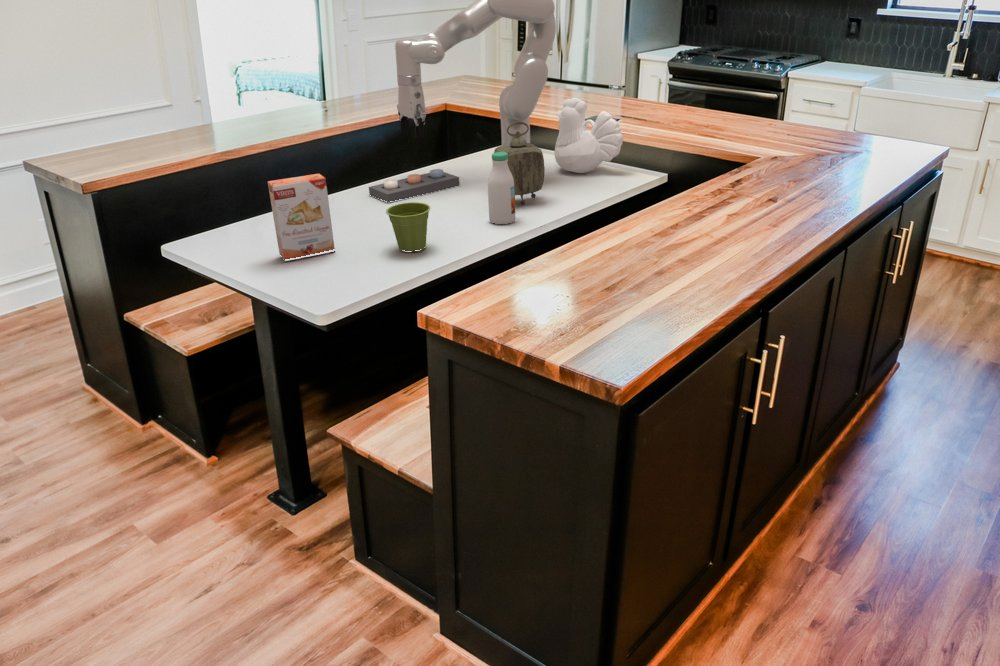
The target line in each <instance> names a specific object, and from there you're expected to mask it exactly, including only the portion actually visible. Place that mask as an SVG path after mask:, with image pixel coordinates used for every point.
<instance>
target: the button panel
mask: <svg viewBox="0 0 1000 666" xmlns="http://www.w3.org/2000/svg"><path fill="white" fill-rule="evenodd" d="M420 175H421V183H418V184H414V185H411V184H408V179H407V177H406V178H401V179H398V180H397V179H396V180H397V183H398V188H397V189H393V190H386V189H384V182H383V183H379V184H374V185H372V186H368V194H369V196H370V195H371V196H374V197H376V198H379V199H382V200H385V201H387V202H390V201H395V200H399V199H404V200H406V199H405V198H408V199H410V198H409V197H412V198H414V197H413V196H416V197H418V196H417V195H420V196H423V195H422V194H424V195H427V194H426V193H428V194H432V193H436V192H440V191H443V189H444V190H447V189H446V188H449V189H452V188H451V187H453V188H456V187H455V186H457V187H460V186H461V185H460V176H457V175H454V174H451V173H448V172H446V171H445V172H444V171H443V178H439V179H432V178H430V172H427V173H422V174H420ZM459 185H460V186H459ZM439 190H440V191H439ZM435 191H436V192H435ZM431 192H432V193H431ZM371 196H370V197H371ZM374 197H373V198H374ZM376 198H375V199H376ZM379 199H378V200H379Z"/></svg>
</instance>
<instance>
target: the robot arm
mask: <svg viewBox="0 0 1000 666" xmlns="http://www.w3.org/2000/svg"><path fill="white" fill-rule="evenodd" d="M555 8H556V7H555V3H554V1H553V0H475V1H473V2H472V3H471V4H469V5H468V6H467V7H465V8H464V9H462V10H460V12H458V13H456V14H455V15H454V16H453V17H451V18H450V19H448V20H446V22H443V23H442V24H441V25H440V26H438V27H437V28H435V29H434V30H432V31H431V32H430V33H428V34H427V35H426V36H424V37H423V38H422V40H418V39H415V38H402V39H397V40H396V41H395V45H394V47H395V48H394V49H395V62H396V75H397V76H396V77H397V87H398V88H397V89H398V94H397V95H398V97H397V99H398V104H397V105H396V109H397V113H398V116H399V118H398V119H399V123H400V124H399V125H400V126H399V127H400V133H401V134H407V133H410V132H411V127H410V126H411V123H410V119H412V120H413V121H414V124H415V125H414V137H415V139H422V138H425V136H426V135H425V134H426V133H425V124H426V116H427V112H426V104H425V96H424V95H425V93H424V91H423V86H422V71H421V68H422V67H421V64H424V65H426V64H427V65H437V64H439V63H441V62H442V61H443V60H444V58H445V54H446V52H447V51H450V50H451V49H452V48H454V46H456V45H458V44H460V43H461V42H463V41H466V40H470V39H472V38H475V37H476V36H478V35H480V34H481V33H482V32H484V31H486V29H488V28H489V27H491V26H492V25H493V24H494V23H496V22H498V21H499V20H501V19H502V18H505V19H510V20H515V21H521V22H527V23H528V31H527V36H526V39H525V40H524V43H523V45H522V46H523V47H522V49H521V50H520V52H519V55H518V57H517V59H516V61H515V64H514V69H513V70H514V75H515V78H514V81H513V82H512V84H509V85H507V86H505V88H503V89H502V91H501V93H500V95H499V100H498V101H499V102H498V103H499V104H498V105H499V106H498V107H499V116H500V130H501V132H500V133H501V146H502V145H506V144H510V142H511V140H512V139H513V138H515V137H516V136H510V135H509V134H508V133H507V128H508V126H509V125H510V124H512V123H514V122H524V123H526V124H527V125H528V127H529V130H528V132H527V133H526V134H524V135H522V136H520V137H522V138H524V139H525V140H526V143H530V144H531V124H530V123H531V122H530V116H531V115H532V114H533V112H534V110H535V108H536V106H537V103H538V101H539V100H540V97H541V94H542V93H543V91H544V88H545V85H546V83H547V81H548V77H549V69H548V65H547V63H546V62H547V60H548V57H549V56H550V52H551V50H552V47H553V45H554V44H553V43H555V42H554V41H555V38H556V33H557V32H556V31H557V25H556V17H555ZM517 131H519V132H520V134H521V133H524V132H526V131H527V127H526V126H525V125H523V124H516V125H513V126H511V127H510V128H509V129H508V132H509V133H511V134H516V132H517Z"/></svg>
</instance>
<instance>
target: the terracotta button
mask: <svg viewBox="0 0 1000 666" xmlns="http://www.w3.org/2000/svg"><path fill="white" fill-rule="evenodd" d="M421 175H422V174H416V173H415V174H414V173H412V174H408V175H407V177H406V178H407V179H408V184H411V185H414V184H418V183H421Z"/></svg>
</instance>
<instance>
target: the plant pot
mask: <svg viewBox="0 0 1000 666" xmlns="http://www.w3.org/2000/svg"><path fill="white" fill-rule="evenodd" d="M431 209H432V207H431V206H430V205H429V204H428V203H425V202H418V201H417V202H416V201H415V202H414V201H413V202H411V201H410V202H403V203H398V204H394V205H391V206H389V207H388V208H387V209H386V210H385V213H386V215H387V216H388V218H389V220H390V221H389V222H390V223H391V225H392V229H393V232H394V235H395V239H396V243H397V247H398V249H399V250H400V249H401V250H405V251H414V252H416V251H415V250H420V249H423V248H424V247H425V246H426V247H427V235H428V234H427V231H428V219H429V213H430V211H431Z"/></svg>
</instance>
